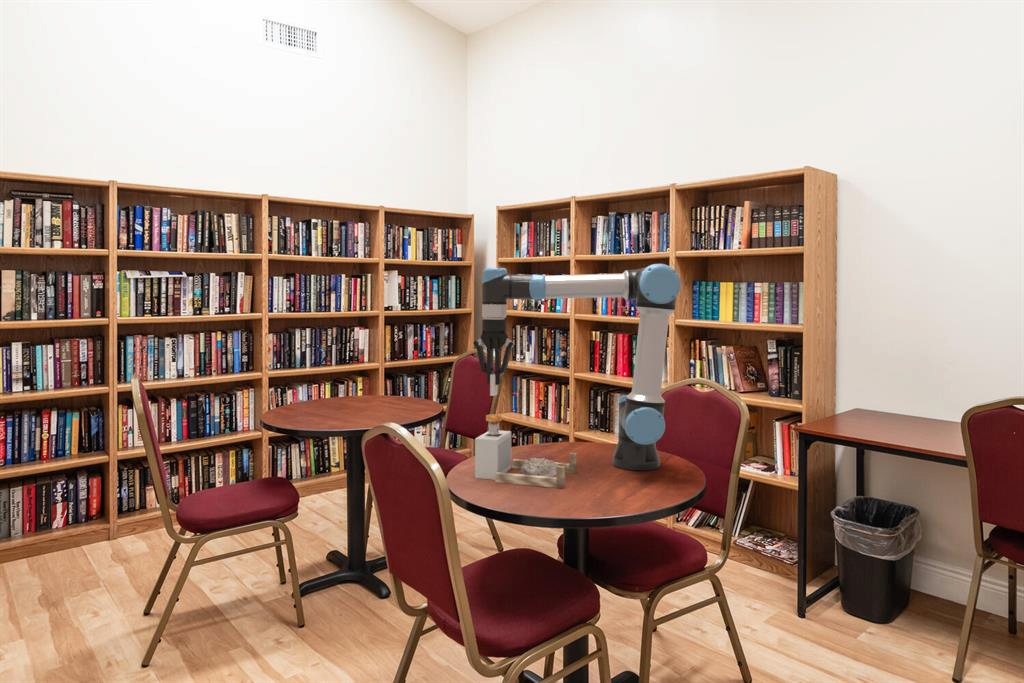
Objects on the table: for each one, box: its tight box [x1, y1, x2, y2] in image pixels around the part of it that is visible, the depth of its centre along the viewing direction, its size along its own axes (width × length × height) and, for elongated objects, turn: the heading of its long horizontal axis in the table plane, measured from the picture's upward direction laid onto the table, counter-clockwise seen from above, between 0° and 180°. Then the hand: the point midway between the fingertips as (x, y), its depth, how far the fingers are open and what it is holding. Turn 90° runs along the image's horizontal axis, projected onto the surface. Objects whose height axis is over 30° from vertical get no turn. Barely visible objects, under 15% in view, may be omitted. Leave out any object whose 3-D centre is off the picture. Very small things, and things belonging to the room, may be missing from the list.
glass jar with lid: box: [485, 413, 503, 437], centre depth 204 cm, size 5×5×8 cm
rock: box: [519, 456, 558, 477], centre depth 200 cm, size 11×11×6 cm
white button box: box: [474, 429, 512, 481], centre depth 205 cm, size 7×14×12 cm, turn 163°
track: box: [494, 452, 578, 489], centre depth 201 cm, size 20×19×6 cm
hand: (493, 395), depth 204 cm, fingers closed
